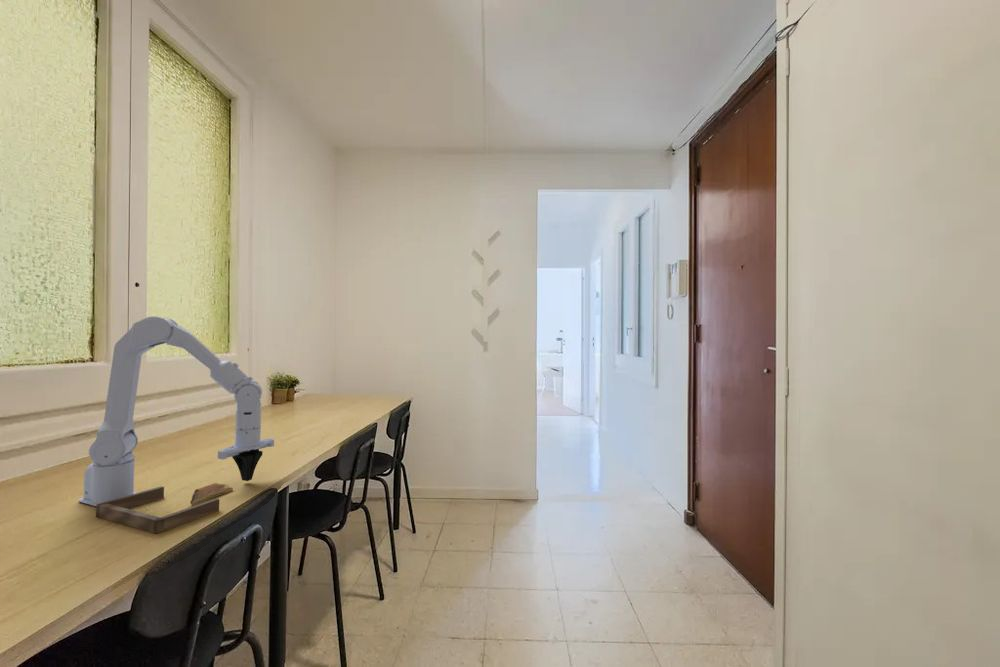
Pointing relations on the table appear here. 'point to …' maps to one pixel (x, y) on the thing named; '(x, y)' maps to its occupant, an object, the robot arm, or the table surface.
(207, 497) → the shard
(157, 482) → the table surface
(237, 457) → the robot arm
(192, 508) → the frame
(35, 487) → the table surface
